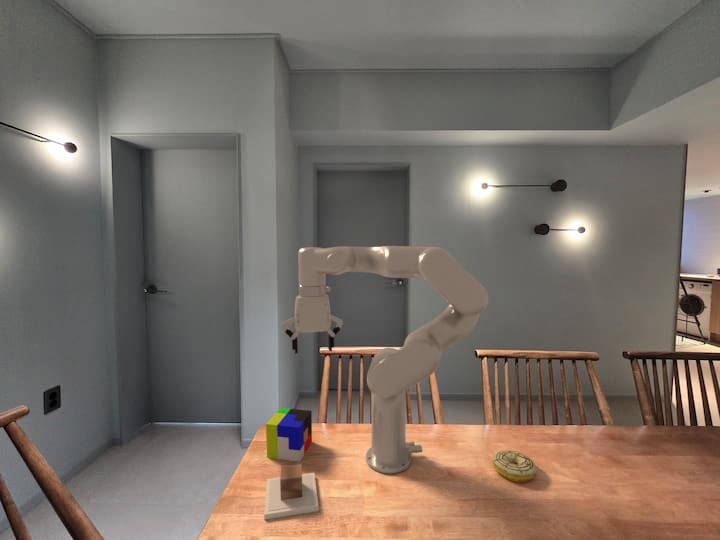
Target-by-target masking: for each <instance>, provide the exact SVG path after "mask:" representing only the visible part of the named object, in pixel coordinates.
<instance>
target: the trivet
mask: <svg viewBox="0 0 720 540" xmlns="http://www.w3.org/2000/svg"><path fill="white" fill-rule="evenodd" d="M315 475H316V474H315V472H310V473H309V472H308V473H302V497H300V498H293V499H286V500H281V492H280V476H279V477H273V478H267V479H266V486H265V499H264V500H265V501H264V510H263V511H264V513H263V514H264V515H263V517H264V519H263V520H271V519H276V518H283V517H289V516H290V517H291V516H295V515H303V514H309V513H310V514H311V513H315V512H320V511H319V510H320V509H319V500H318V499H319V498H318V492H317V484H316V483H317V482H316V476H315Z"/></svg>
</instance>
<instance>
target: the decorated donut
mask: <svg viewBox="0 0 720 540" xmlns="http://www.w3.org/2000/svg"><path fill="white" fill-rule="evenodd" d="M492 465H493V468H494V469H495V471H496V473H497V474H498V475H500V476H501V477H502V478H503V479H505V480H506V481H507V480H508V481H509V482H510V481H511V482H513V483H518V484H521V483H527V482H529V481H532V480H533V479H534V477H535V475H536V473H537V471H538V468H537V465H536V464H535V462H534V461H533V460H532V459H531V458H530V457H528V456H527V455H526V454H524V453H522V452H519V451H517V450H501V451H499V452H496V453H495V454H494V455H493V458H492Z"/></svg>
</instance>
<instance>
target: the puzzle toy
mask: <svg viewBox="0 0 720 540" xmlns="http://www.w3.org/2000/svg"><path fill="white" fill-rule="evenodd" d="M312 413H313V411H312V410H307V409H299V408H297V409H296V408H287V407H280V408H279V409H278V411H276V412H275V413H274V415H272V417H271V418H270V419H269V420H268V421H267V423H265V426H266V427H265V432H266V458H268V459H278V460H285V461H293V462H302V459H303V458H304V456H305V454H306V453H307V451H308V449H309V448H310V446H311V444H312V442H313V431H312V430H313V429H312V423H313V422H312V420H313V419H312V417H313V416H312V415H313V414H312Z"/></svg>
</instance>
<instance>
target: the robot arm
mask: <svg viewBox="0 0 720 540" xmlns="http://www.w3.org/2000/svg"><path fill="white" fill-rule="evenodd" d="M297 255H298V256H297V257H298V260H297V261H298V295H296V297H295V303H294V316H292V317H291V318H289V319H287V320H285V321H283V322H282V323H281V327H282V329H283V331H284V333H285V334H286V335H287V336H288V337H289V338H291V343H292V344H291V347H292V351H293V350H294V354H298V349H299V348H298V335H299V334H301V333H318V332H327V334H328V336H327V343H328V344H327V345H328V346H327V347H328V351H329V352H332V351H333V348H335V337H336V335H337V334H338V333H339V332H340V330H341V328H342V326H343V324H344V320H343V319H341V318H340V317H339V318H338V317H337V316H334V315H332V314H331V306H330V305H331V304H330V298H329V295H328V294H327V293H329V292H332V287H331V286H328V285H327V284H326V283H327V282H326V280H327V277H326V275H328V274H329V275H333V276H339V275H342V274H345V273H346V272H347V273H370V274H371V273H372V274H377V275H379V276H382V277H385V278H393V279H395V278H396V279H417V280H418V279H420V280H423V279H424V280H425V281H426V282H427V283H428V284H429V285H430V286H431V287H432V289H434V290H435V291H436V292H437V293H438V294H439V296H441V297H442V298H443V299H444V300H445V301H446V302H447V303H448V305H447V308H445V310H444V311H443V312H441V314H439V315H437V316H436V317H435V318H434V319H433V318H432V320H431V321H429V322H427V323H425V324H424V325H422V326H421V327H419V328H417V329H415V330H414V331H412V332H411V333H409V334H408V335H407V336H406V338H405V340H404V343H403V346H401V347H399V348H398V349H396V348H393V347H384V348H382V349H380V350H379V351H378V352H376V353H375V355H374V356H373V358H372V360H371V362H370V365H369V367H368V371H367V375H366V384H367V387H368V389H369V391H370V392H371V447H370V448H369V449H368V450H367V451H366V454H365V460H366V463H367V465H368V466H369V467H370V468H371V469H372V470H374V471H375V472H378V473H381V474H397V473H401V472H404V471H405V470H407V469H408V468H409V467H410V465H411V463H412V455H413V454H417V453H422V452H423V446H422V445H421V444H415V441H409V442H407V441H406V431H407V430H406V428H407V427H406V425H407V424H406V423H407V422H406V418H407V417H406V415H407V414H406V412H407V411H406V410H407V409H406V408H407V391H408V390H409V389H411V388H413V387H415V386H417V384H419V383H421V382H423V381H425V380H426V379H427V378H430V377H431V376H432V375H433V374H434V373H435V372H436V371H437V369H438V368H439V366H440V364H441V361H442V354H444V353H445V352H446V351H447V350H449V349H451V348H452V347H454V346H455V345H457V344H458V343H459V342H460V341H462V340H464V339H465V338H466V337H467V336H468V335H470V333H471V332H472V331H473V329H474V328H475V327H476V325H477V323H478V321H479V318H480V315H481V313H483V312H484V311H485V309H486V308H487V307H488V304H489V294H488V291H487V289H486V288H485V287H484V285H482V283H480V282H479V281H478V280H477V279H476V278H475V277H474V276H473V275H472V274H470V273H469V272H468V271H467V270H466V269H465V268H464V267H463V266H462V265H461V264H460V263H459V262H458V261H457V260H456V258H454V257H453V256H452V254H450V252H449V251H447V250H446V249H445V248H442V247H439V246H413V245H412V246H409V245H408V246H406V245H403V246H402V245H400V246H399V245H383V246H350V245H349V246H348V245H347V246H346V245H345V246H341V245H340V246H334V247H333V246H332V247H326V248H322V247H318V246H317V247H309V246H308V247H302V248H300V249H299V250H298V254H297ZM332 322H335V323H336V326H335V327H334V328H333V329H332ZM293 323H294V330H293V331H292V330H291V329H290V328H289V326H290V325H292V324H293Z"/></svg>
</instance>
